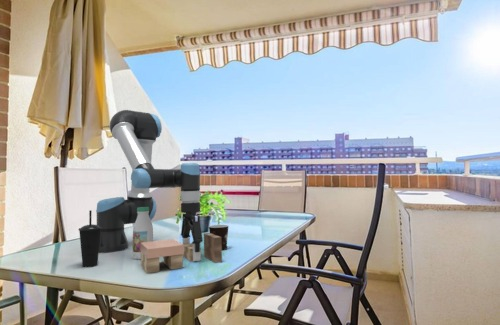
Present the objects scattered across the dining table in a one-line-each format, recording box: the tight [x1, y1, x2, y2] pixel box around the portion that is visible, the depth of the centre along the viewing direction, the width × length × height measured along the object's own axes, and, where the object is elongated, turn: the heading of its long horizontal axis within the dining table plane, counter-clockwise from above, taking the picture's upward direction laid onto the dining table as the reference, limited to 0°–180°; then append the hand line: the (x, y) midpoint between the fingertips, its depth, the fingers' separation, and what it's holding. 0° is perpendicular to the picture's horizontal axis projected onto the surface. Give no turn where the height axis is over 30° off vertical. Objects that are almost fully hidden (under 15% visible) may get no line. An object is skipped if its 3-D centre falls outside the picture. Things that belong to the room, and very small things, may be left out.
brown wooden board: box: [203, 232, 223, 264], centre depth 119 cm, size 12×2×9 cm, turn 29°
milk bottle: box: [132, 207, 154, 260], centre depth 125 cm, size 8×8×20 cm
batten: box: [182, 242, 202, 263], centre depth 122 cm, size 11×4×5 cm, turn 29°
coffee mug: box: [208, 224, 229, 251], centre depth 136 cm, size 12×9×10 cm
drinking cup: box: [78, 210, 102, 268], centre depth 114 cm, size 8×8×20 cm
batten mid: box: [163, 254, 184, 270], centre depth 111 cm, size 11×4×5 cm, turn 29°
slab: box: [140, 238, 184, 259], centre depth 110 cm, size 14×12×3 cm
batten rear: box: [140, 252, 160, 274], centre depth 107 cm, size 11×4×5 cm, turn 29°
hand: (191, 257), depth 122 cm, fingers open, 12 cm apart
